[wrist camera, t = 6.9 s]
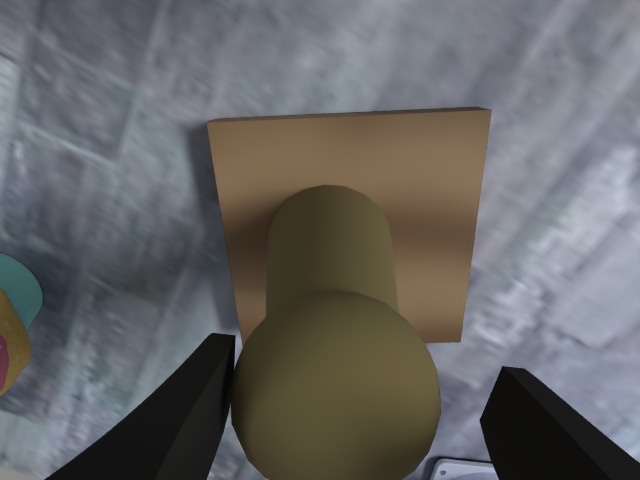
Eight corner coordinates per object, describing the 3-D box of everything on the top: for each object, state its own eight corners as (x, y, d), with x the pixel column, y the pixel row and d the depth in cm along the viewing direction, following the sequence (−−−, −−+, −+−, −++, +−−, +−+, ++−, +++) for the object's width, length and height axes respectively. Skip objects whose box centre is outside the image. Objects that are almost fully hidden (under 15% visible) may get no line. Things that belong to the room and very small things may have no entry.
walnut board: (447, 315, 22) (460, 342, 20) (251, 319, 23) (242, 346, 21) (470, 105, 18) (491, 110, 15) (222, 116, 18) (206, 122, 16)
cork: (245, 263, 18) (150, 484, 8) (307, 159, 16) (280, 283, 6) (347, 317, 20) (373, 567, 9) (417, 225, 18) (544, 421, 7)
